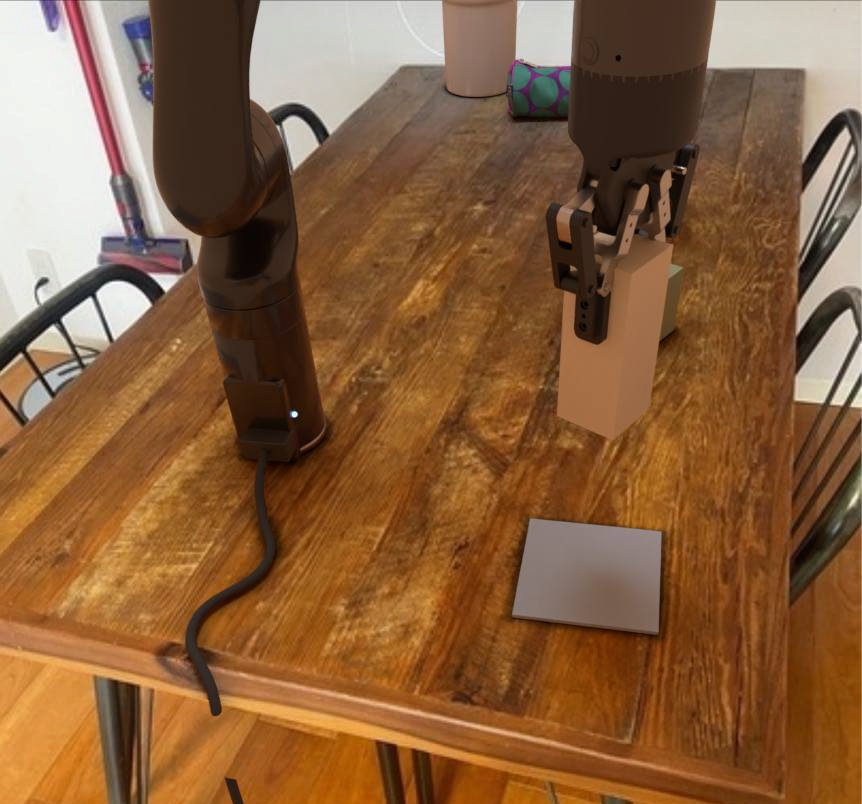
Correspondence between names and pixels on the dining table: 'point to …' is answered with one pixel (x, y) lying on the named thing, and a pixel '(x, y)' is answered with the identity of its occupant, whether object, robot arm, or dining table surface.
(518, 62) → the pencil case
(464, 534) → the dining table surface
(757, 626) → the dining table surface
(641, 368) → the carton
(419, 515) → the dining table surface
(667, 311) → the block
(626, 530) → the mat
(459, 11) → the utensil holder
